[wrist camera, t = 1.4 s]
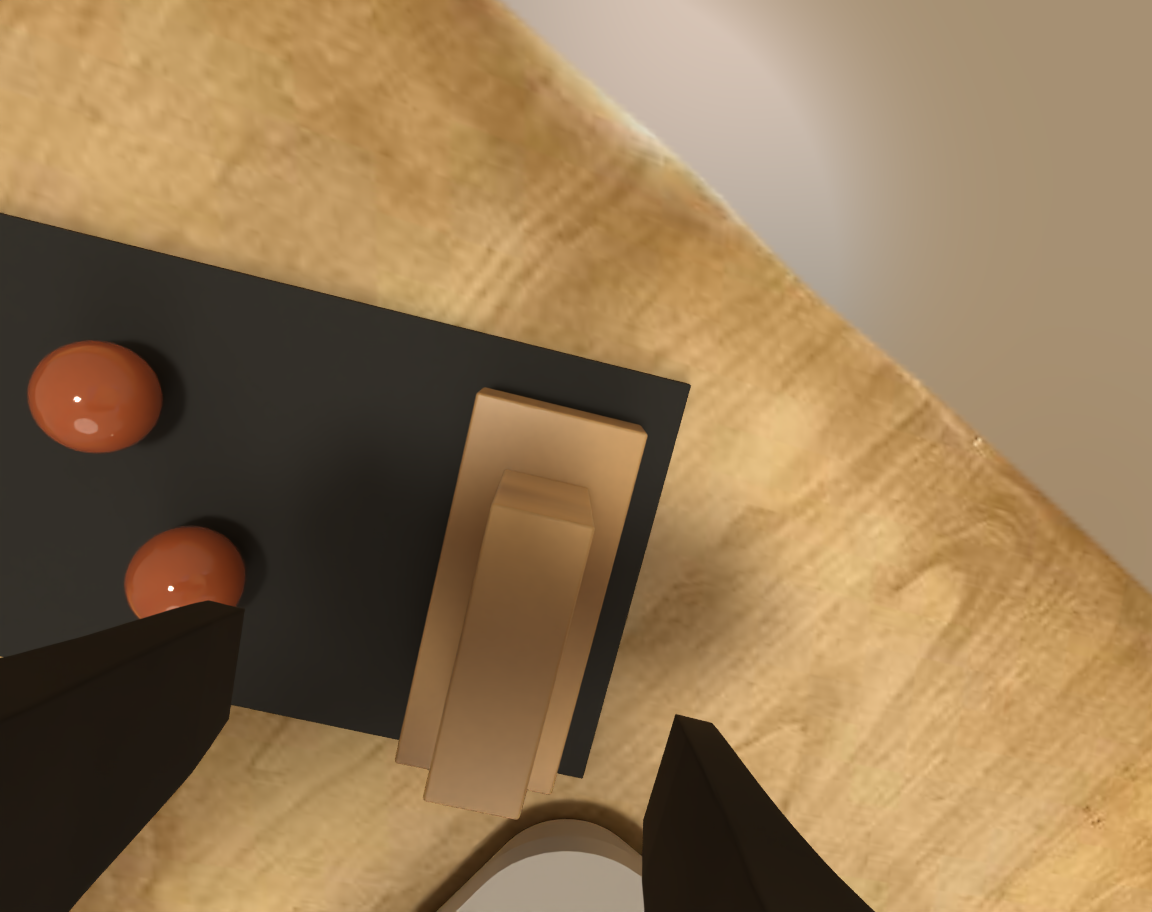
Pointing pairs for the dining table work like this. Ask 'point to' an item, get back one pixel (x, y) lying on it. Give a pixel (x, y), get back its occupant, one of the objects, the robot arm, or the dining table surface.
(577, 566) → the brush
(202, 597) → the red-brown glossy ball
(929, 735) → the dining table surface
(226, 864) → the dining table surface
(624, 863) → the tablet
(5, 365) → the mat
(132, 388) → the orange glossy ball
